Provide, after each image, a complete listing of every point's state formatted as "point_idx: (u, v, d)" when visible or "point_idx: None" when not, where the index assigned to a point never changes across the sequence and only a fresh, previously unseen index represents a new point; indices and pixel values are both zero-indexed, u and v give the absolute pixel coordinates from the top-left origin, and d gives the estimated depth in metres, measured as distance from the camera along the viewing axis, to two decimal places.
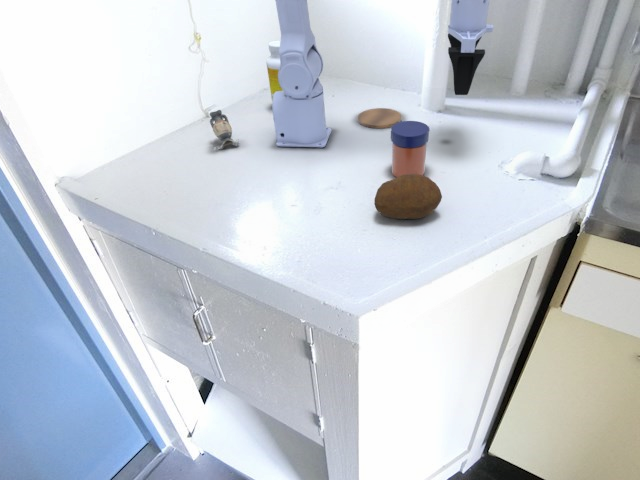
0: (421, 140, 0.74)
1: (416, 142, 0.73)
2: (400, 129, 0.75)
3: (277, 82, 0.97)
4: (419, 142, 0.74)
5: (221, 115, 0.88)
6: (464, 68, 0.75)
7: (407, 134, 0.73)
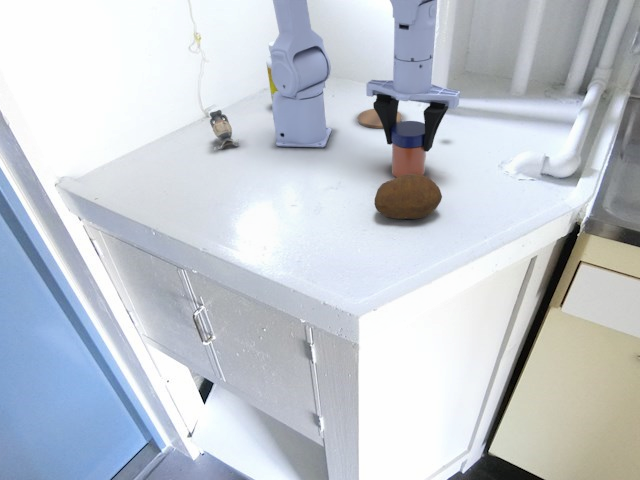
0: (421, 140, 0.74)
1: (416, 142, 0.73)
2: (400, 129, 0.75)
3: None
4: (419, 142, 0.74)
5: (221, 115, 0.88)
6: None
7: (407, 134, 0.73)
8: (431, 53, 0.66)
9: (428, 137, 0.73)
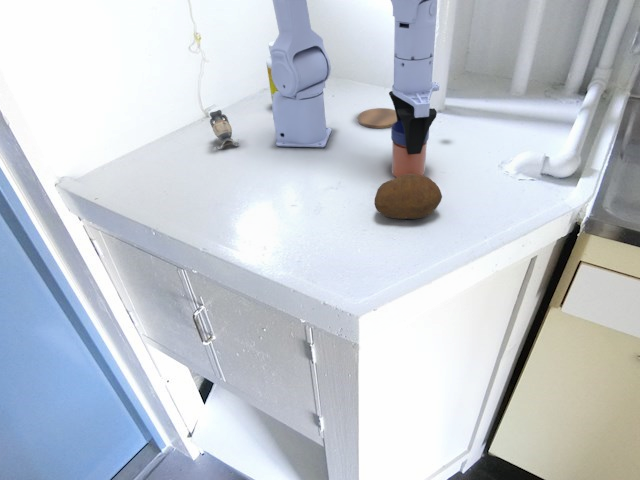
0: None
1: None
2: None
3: None
4: None
5: (221, 115, 0.88)
6: (416, 128, 0.71)
7: None
8: (431, 51, 0.66)
9: None
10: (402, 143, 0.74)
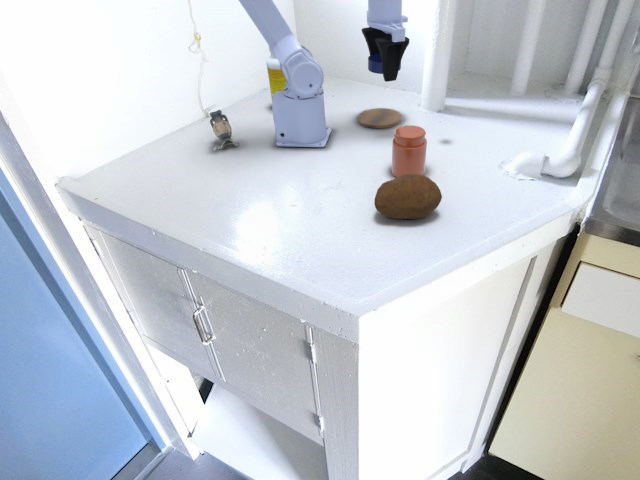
0: None
1: None
2: None
3: (277, 82, 0.97)
4: None
5: (221, 115, 0.88)
6: (391, 56, 0.82)
7: None
8: None
9: None
10: (380, 72, 0.84)
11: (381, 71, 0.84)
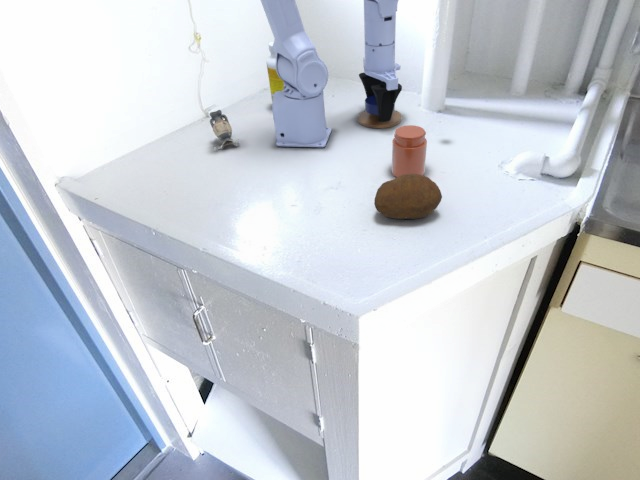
0: None
1: None
2: None
3: (277, 82, 0.97)
4: None
5: (220, 115, 0.88)
6: (386, 100, 0.91)
7: None
8: None
9: None
10: (376, 113, 0.93)
11: (377, 113, 0.93)
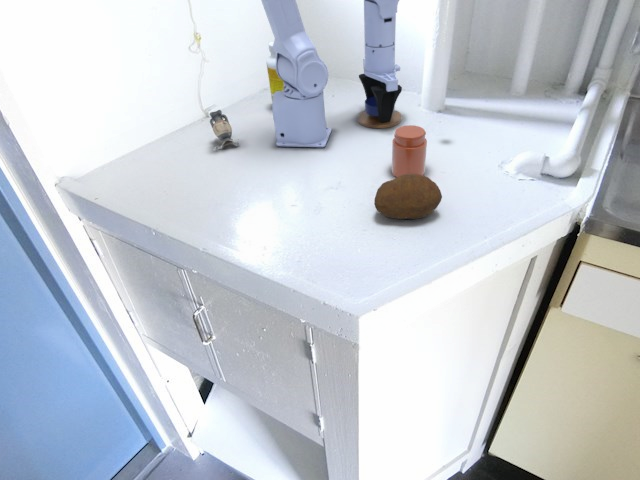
0: None
1: None
2: None
3: (277, 82, 0.97)
4: None
5: (221, 115, 0.88)
6: (386, 101, 0.91)
7: None
8: None
9: None
10: (375, 114, 0.93)
11: (377, 114, 0.93)
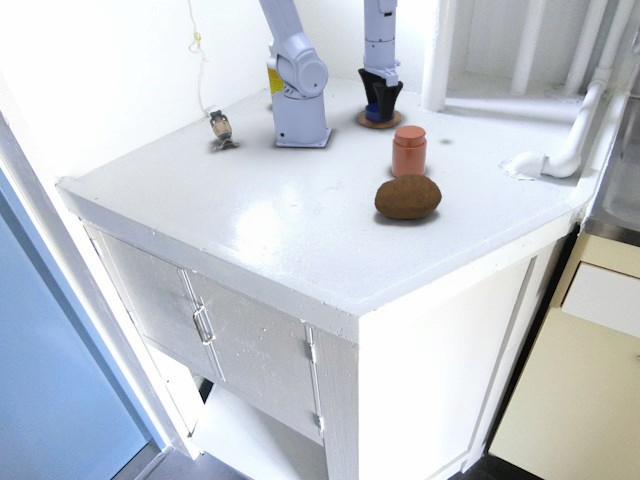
0: None
1: None
2: None
3: (277, 82, 0.97)
4: None
5: (221, 115, 0.88)
6: (387, 97, 0.90)
7: None
8: None
9: None
10: (376, 120, 0.94)
11: (377, 120, 0.94)
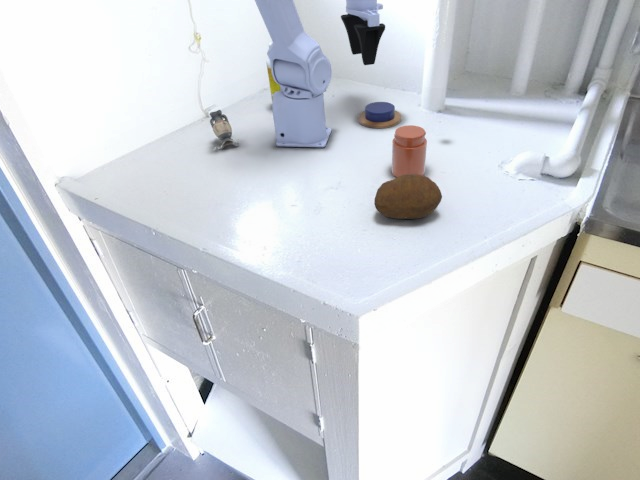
0: None
1: None
2: (387, 108, 0.94)
3: None
4: None
5: (221, 115, 0.88)
6: (369, 41, 0.89)
7: (389, 104, 0.96)
8: None
9: None
10: (376, 120, 0.94)
11: (377, 120, 0.94)
